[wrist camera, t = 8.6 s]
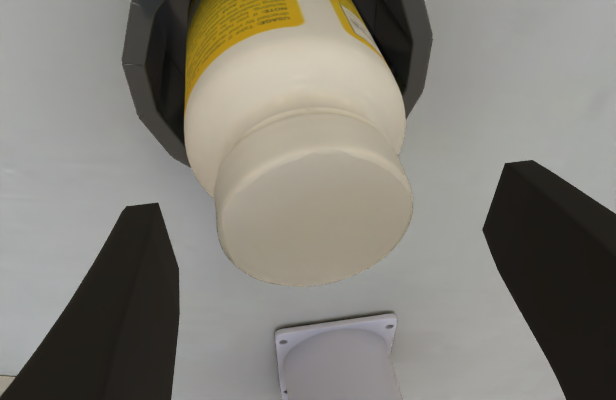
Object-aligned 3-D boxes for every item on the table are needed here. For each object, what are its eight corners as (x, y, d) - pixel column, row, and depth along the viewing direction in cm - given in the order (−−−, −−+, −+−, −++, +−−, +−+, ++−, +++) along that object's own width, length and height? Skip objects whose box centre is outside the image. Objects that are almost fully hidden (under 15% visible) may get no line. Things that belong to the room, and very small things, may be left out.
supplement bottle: (176, 73, 17) (158, 299, 10) (204, -92, 14) (205, 78, 7) (316, 102, 19) (382, 312, 12) (371, -38, 16) (505, 141, 9)
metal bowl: (377, 106, 21) (409, 175, 17) (169, 126, 20) (163, 203, 16) (402, -139, 15) (458, -103, 11) (106, -126, 14) (76, -84, 10)
